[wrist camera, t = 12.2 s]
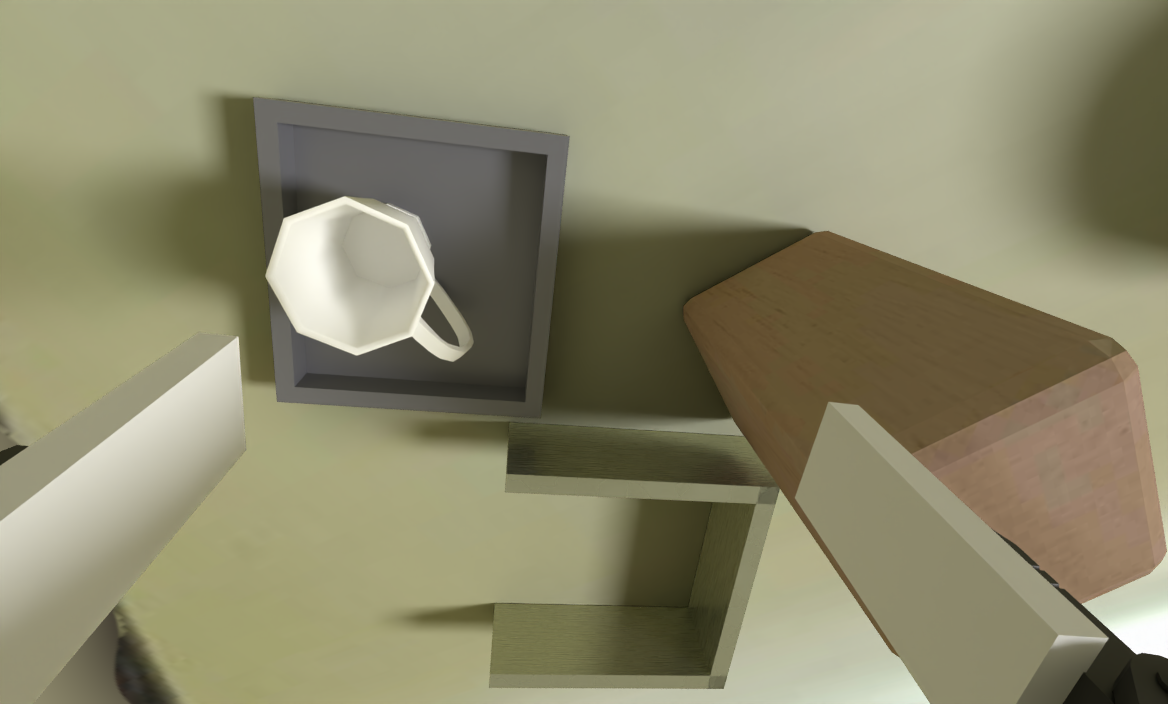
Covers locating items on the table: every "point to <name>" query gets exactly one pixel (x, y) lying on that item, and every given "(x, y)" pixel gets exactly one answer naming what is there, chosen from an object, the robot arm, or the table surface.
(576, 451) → the bay
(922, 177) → the table surface
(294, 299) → the cup
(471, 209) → the tray
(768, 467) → the wooden block
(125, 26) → the table surface
